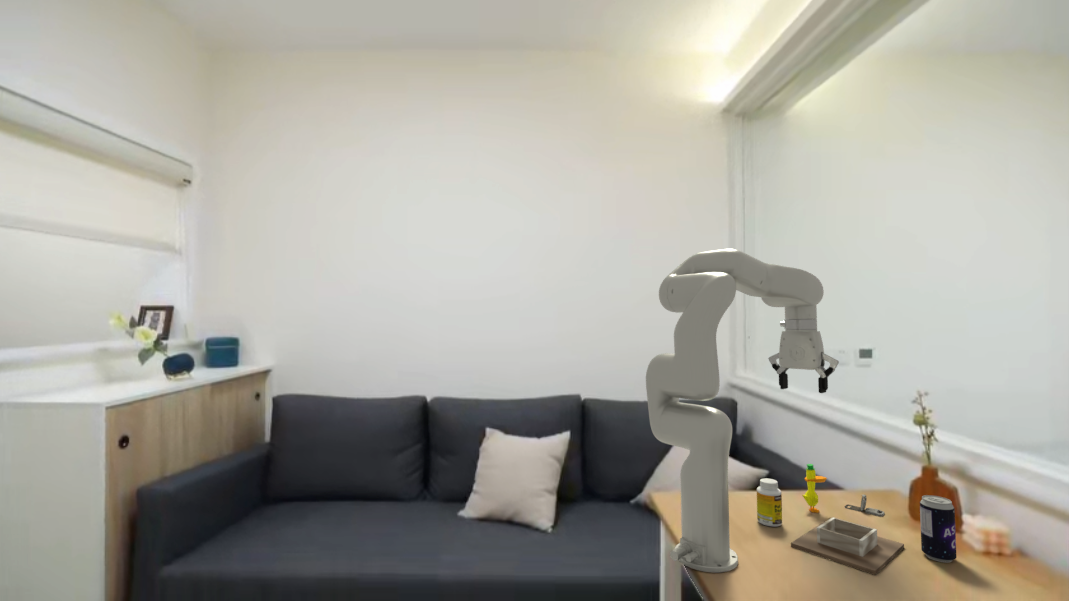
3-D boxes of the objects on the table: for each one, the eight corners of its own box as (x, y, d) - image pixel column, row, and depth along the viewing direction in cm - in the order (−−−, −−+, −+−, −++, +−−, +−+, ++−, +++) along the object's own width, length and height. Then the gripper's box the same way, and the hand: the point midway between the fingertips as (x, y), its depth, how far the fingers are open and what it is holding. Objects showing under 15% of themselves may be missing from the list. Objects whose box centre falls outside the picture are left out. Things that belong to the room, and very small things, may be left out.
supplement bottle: (777, 529, 119) (776, 486, 119) (753, 523, 123) (752, 480, 123) (786, 523, 122) (784, 480, 123) (762, 516, 126) (761, 475, 127)
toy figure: (822, 508, 132) (821, 462, 132) (831, 513, 128) (830, 466, 128) (798, 509, 131) (796, 462, 132) (806, 514, 128) (805, 466, 128)
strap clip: (885, 515, 128) (884, 498, 128) (882, 518, 125) (881, 500, 126) (847, 506, 134) (846, 489, 134) (843, 508, 132) (843, 492, 132)
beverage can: (948, 566, 100) (945, 506, 101) (916, 555, 105) (913, 497, 106) (962, 560, 103) (959, 501, 103) (930, 549, 108) (928, 492, 108)
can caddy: (875, 575, 98) (874, 554, 98) (790, 546, 110) (790, 528, 110) (904, 547, 109) (903, 528, 109) (824, 524, 121) (824, 507, 121)
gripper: (762, 326, 138) (763, 388, 137) (831, 326, 124) (833, 395, 124) (774, 325, 143) (776, 386, 142) (842, 325, 129) (844, 392, 129)
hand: (802, 390), depth 133 cm, fingers open, 9 cm apart
